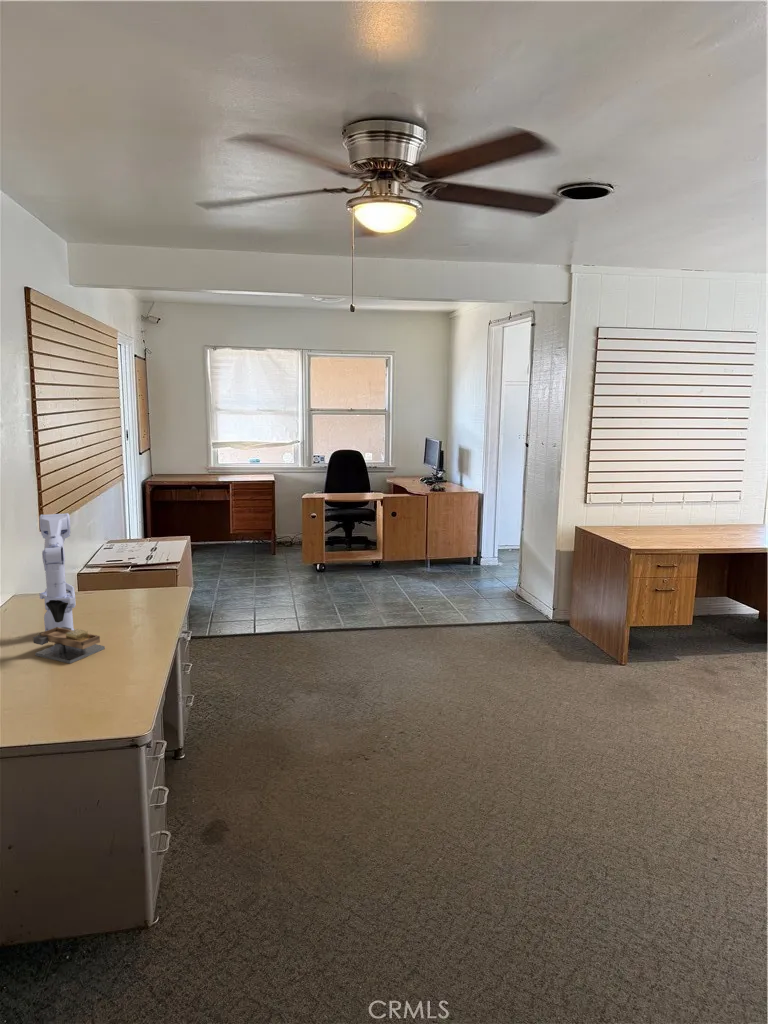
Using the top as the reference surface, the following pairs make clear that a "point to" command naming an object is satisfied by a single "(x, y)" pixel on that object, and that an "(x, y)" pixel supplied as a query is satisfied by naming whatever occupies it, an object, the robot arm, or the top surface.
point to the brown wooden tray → (64, 638)
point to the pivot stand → (68, 652)
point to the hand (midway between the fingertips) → (59, 621)
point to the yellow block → (77, 635)
